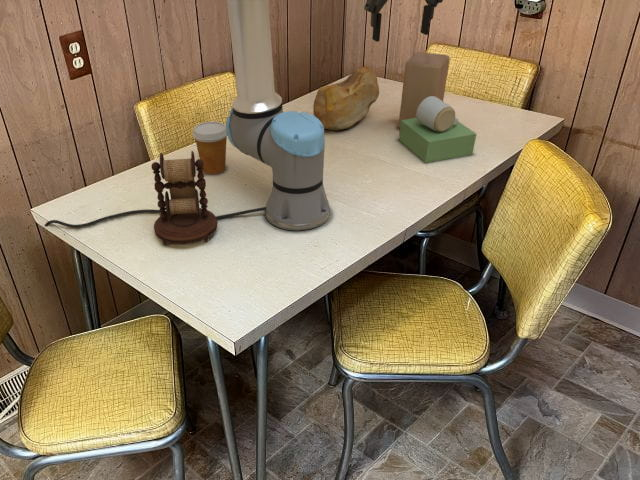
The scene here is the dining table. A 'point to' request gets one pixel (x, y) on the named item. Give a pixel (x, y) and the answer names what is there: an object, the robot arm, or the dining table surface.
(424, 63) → the wooden block
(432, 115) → the ceramic mug
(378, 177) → the dining table surface
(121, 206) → the dining table surface
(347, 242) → the dining table surface
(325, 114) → the rough brown rock
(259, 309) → the dining table surface
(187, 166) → the wooden thread spool stand
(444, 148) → the green block
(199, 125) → the disposable coffee cup
